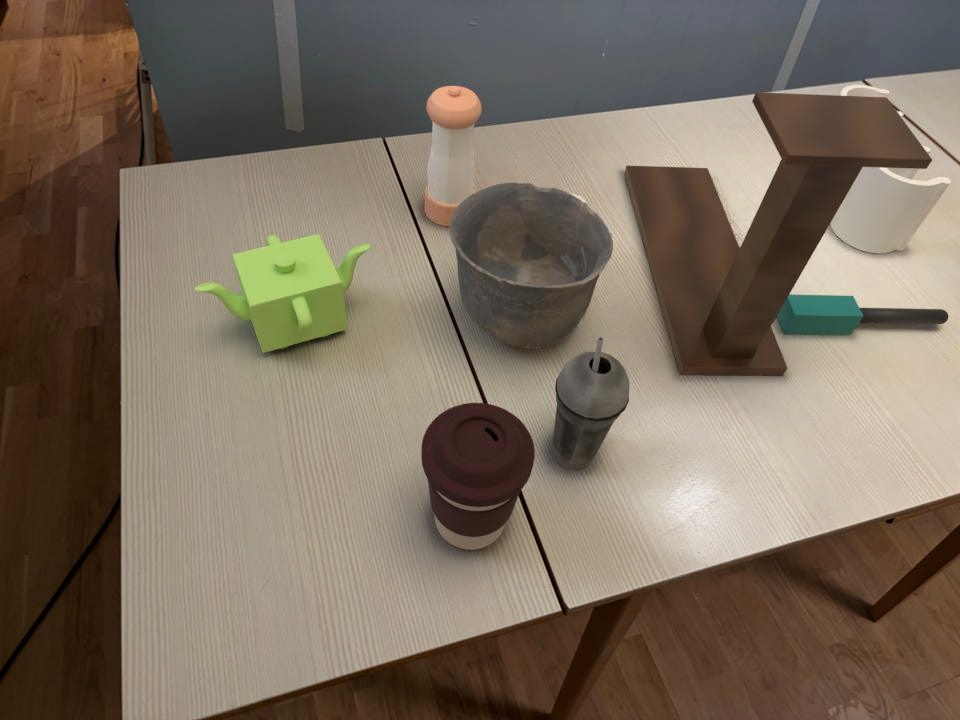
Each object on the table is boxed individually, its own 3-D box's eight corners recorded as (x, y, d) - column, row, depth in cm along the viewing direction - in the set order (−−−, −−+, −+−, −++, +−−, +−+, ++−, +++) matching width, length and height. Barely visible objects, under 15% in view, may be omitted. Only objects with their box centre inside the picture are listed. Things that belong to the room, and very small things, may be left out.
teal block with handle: (932, 316, 95) (948, 297, 93) (944, 336, 93) (961, 317, 90) (775, 313, 94) (786, 294, 91) (783, 333, 91) (795, 315, 89)
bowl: (466, 388, 82) (473, 299, 71) (431, 283, 93) (433, 190, 81) (606, 363, 86) (636, 274, 75) (558, 264, 97) (578, 173, 85)
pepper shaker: (450, 188, 106) (455, 66, 91) (485, 212, 103) (496, 90, 88) (414, 208, 102) (413, 85, 87) (448, 233, 99) (454, 110, 84)
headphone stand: (704, 175, 112) (785, -40, 87) (785, 382, 86) (933, 159, 61) (624, 173, 111) (682, -46, 86) (681, 381, 85) (788, 154, 60)
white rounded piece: (796, 149, 118) (828, 82, 109) (853, 153, 119) (890, 86, 109) (841, 251, 103) (884, 182, 93) (907, 255, 103) (956, 187, 94)
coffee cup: (423, 568, 69) (424, 493, 57) (419, 477, 75) (418, 393, 63) (524, 561, 70) (545, 486, 58) (512, 472, 76) (528, 389, 64)
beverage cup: (619, 459, 78) (668, 341, 62) (569, 493, 75) (609, 378, 59) (574, 414, 81) (611, 291, 66) (526, 445, 78) (552, 324, 63)
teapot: (375, 299, 90) (371, 236, 82) (332, 378, 82) (322, 316, 74) (265, 270, 92) (250, 205, 84) (212, 344, 84) (190, 281, 76)
